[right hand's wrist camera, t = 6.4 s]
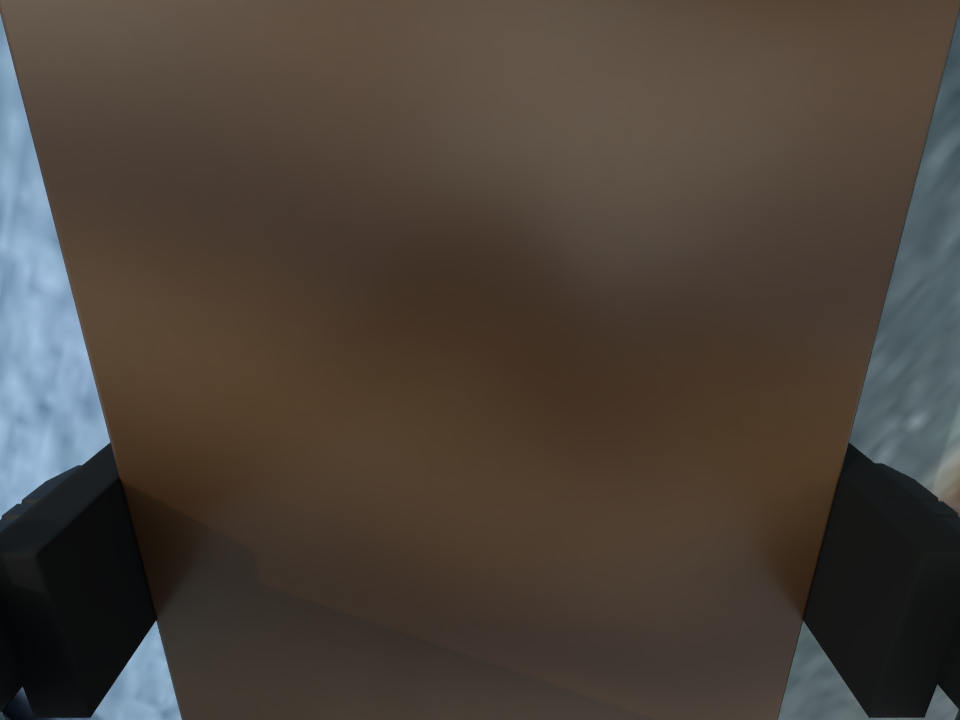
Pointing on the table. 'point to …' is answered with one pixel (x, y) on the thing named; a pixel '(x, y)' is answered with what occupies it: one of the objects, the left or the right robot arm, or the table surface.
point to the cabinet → (479, 331)
